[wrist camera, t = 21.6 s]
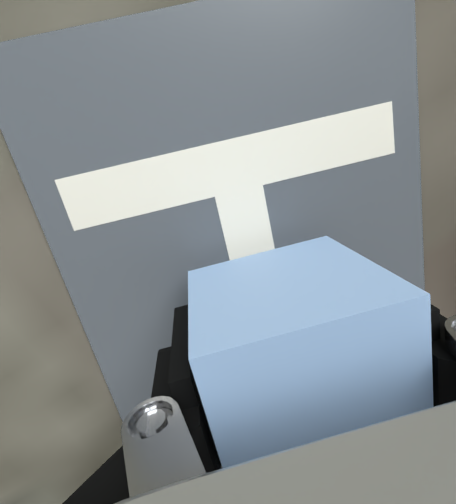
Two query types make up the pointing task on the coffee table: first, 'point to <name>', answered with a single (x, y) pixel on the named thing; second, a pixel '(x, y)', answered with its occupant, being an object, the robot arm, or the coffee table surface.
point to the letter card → (212, 152)
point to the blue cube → (305, 347)
